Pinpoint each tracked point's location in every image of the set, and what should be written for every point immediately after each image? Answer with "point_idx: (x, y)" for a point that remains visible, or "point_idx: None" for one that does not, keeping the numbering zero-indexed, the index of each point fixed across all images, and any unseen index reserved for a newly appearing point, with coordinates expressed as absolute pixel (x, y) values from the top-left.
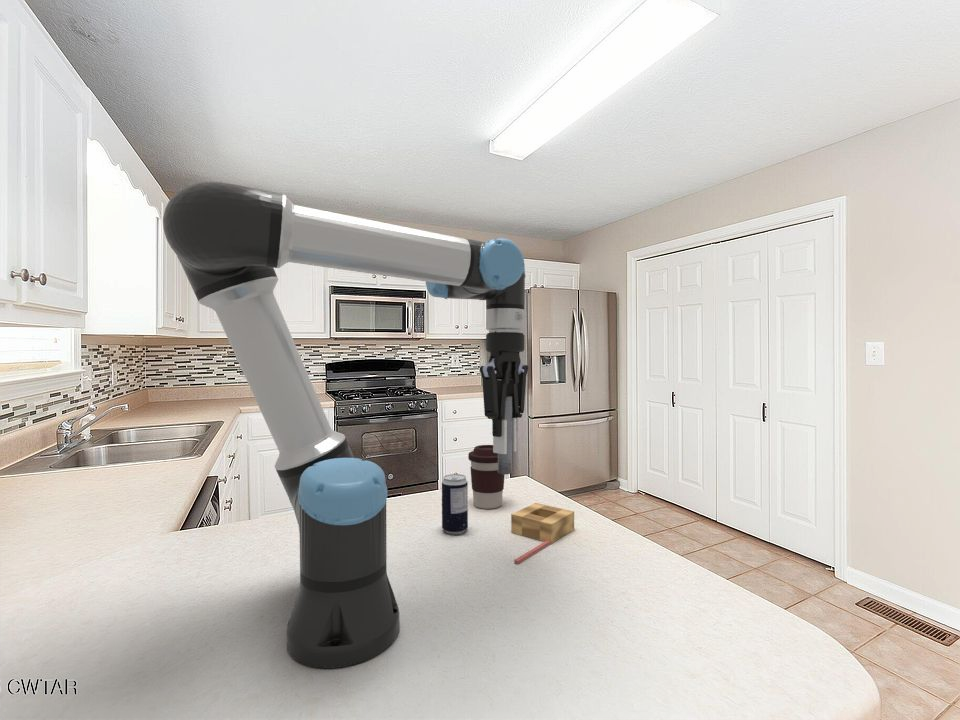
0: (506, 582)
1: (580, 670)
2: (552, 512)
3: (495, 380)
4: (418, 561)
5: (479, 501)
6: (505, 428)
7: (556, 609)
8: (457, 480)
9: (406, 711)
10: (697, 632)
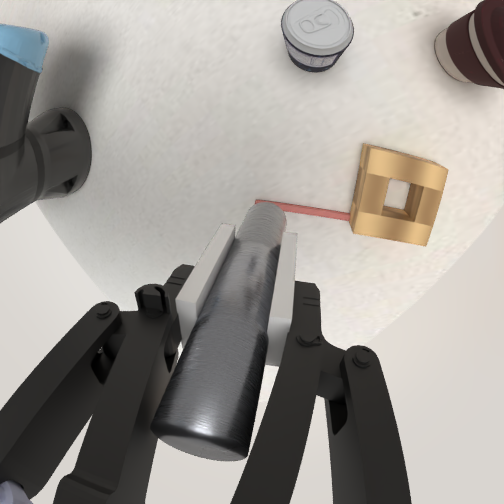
0: (203, 215)
1: None
2: (415, 212)
3: (41, 475)
4: (180, 82)
5: (439, 44)
6: None
7: None
8: (298, 42)
9: (61, 240)
10: None
